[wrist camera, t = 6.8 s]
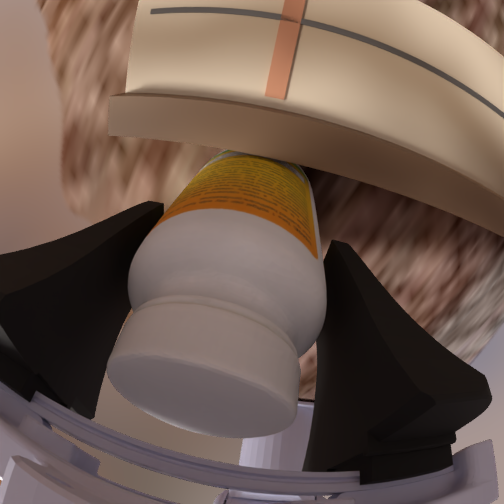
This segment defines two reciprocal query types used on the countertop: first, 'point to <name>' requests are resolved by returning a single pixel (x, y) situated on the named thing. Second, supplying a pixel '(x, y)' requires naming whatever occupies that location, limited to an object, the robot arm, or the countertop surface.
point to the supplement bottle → (225, 301)
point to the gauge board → (326, 93)
